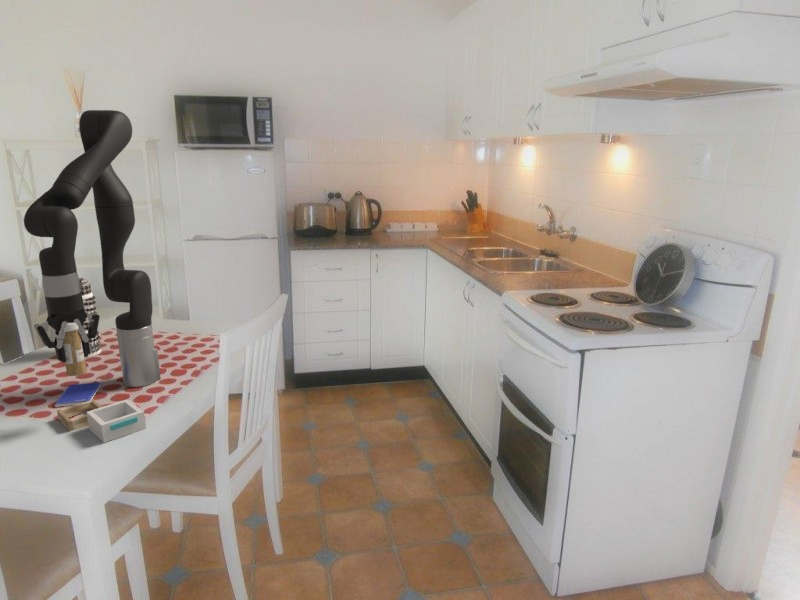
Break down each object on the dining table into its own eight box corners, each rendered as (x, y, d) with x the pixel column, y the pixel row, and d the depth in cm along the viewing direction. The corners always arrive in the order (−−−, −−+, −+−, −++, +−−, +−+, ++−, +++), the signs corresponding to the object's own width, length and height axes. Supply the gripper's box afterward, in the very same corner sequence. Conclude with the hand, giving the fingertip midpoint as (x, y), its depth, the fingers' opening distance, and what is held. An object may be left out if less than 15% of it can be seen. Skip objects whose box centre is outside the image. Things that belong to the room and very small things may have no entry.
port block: (129, 415, 141) (127, 399, 140) (146, 428, 135) (144, 412, 134) (88, 428, 135) (86, 411, 133) (104, 443, 128) (102, 426, 127)
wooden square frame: (95, 408, 145) (93, 399, 144) (107, 419, 139) (106, 410, 138) (58, 419, 139) (56, 410, 138) (70, 431, 133) (68, 422, 132)
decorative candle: (90, 359, 178) (79, 283, 171) (64, 357, 179) (52, 282, 172) (108, 349, 186) (99, 277, 180) (84, 347, 188) (73, 276, 181)
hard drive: (88, 400, 147) (100, 382, 158) (54, 403, 145) (68, 384, 156) (89, 406, 147) (101, 387, 159) (55, 409, 145) (69, 389, 157)
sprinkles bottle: (89, 373, 136) (81, 321, 132) (69, 378, 133) (59, 325, 129) (84, 367, 139) (75, 317, 135) (63, 372, 136) (54, 321, 132)
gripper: (89, 283, 137) (99, 347, 142) (23, 294, 127) (36, 362, 132) (101, 288, 132) (110, 355, 137) (32, 300, 122) (45, 371, 127)
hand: (74, 358), depth 135 cm, fingers closed on sprinkles bottle, 4 cm apart
